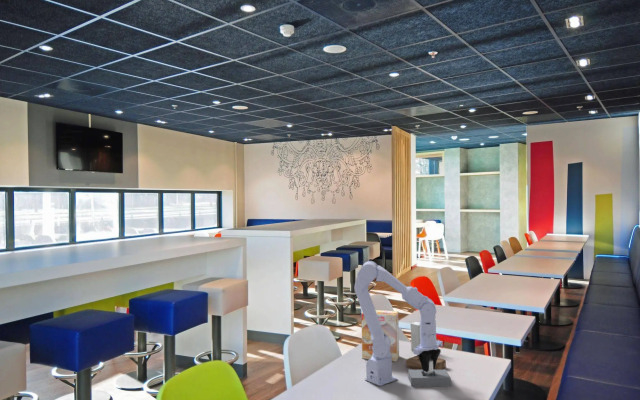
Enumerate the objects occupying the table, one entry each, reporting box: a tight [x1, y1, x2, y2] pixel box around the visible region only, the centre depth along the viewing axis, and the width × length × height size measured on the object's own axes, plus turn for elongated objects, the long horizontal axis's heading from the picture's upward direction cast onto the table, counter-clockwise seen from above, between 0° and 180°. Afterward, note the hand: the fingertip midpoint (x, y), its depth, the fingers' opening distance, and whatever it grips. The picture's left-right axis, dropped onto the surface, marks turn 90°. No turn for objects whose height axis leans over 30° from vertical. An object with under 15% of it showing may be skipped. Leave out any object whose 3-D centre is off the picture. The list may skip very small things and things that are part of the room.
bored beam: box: [407, 369, 452, 387], centre depth 171 cm, size 14×8×3 cm, turn 87°
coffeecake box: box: [361, 309, 400, 362], centre depth 198 cm, size 15×7×20 cm, turn 73°
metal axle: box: [424, 359, 433, 376], centre depth 171 cm, size 3×3×8 cm
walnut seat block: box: [405, 355, 447, 370], centre depth 185 cm, size 11×11×3 cm
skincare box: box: [410, 320, 420, 352], centre depth 206 cm, size 6×4×12 cm
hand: (428, 369), depth 171 cm, fingers closed on metal axle, 3 cm apart
